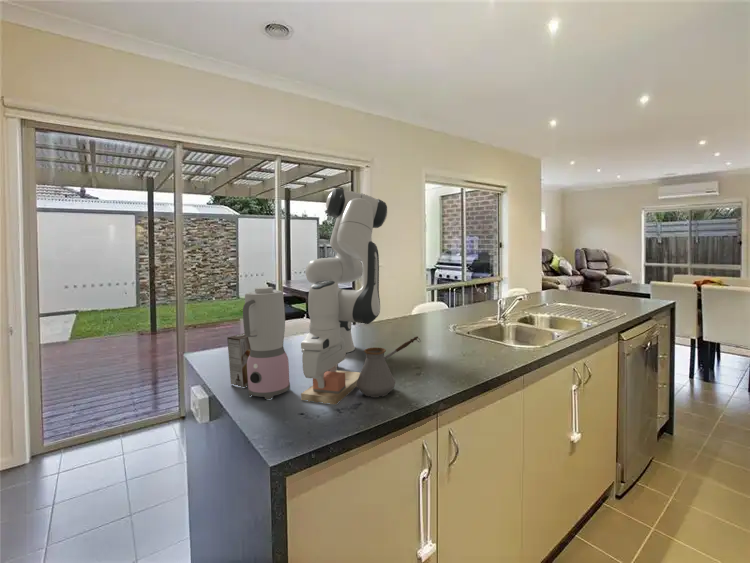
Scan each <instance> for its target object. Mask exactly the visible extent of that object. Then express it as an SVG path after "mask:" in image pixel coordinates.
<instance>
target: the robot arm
mask: <svg viewBox="0 0 750 563" xmlns="http://www.w3.org/2000/svg"><path fill="white" fill-rule="evenodd" d="M325 203H326V204H325V205H326V212H327V214H328V215H329V216H331V217H332V218H335V223H334V224H333V228H332V232H331V236H330V240H329V243H330V247H331V248H332V250H333V251H334V252H336V254H335V256H334V257H322V258H321V257H320V258H317V259H313V260H310V261H309V262H308V263H307V265H306V268H305V276H306V279H307V280H308V282H309V283H310V286H309V289H308V298H307V299H308V300H307V304H308V306H307V307H308V315H309V321H310V322H309V326H308V327H309V328H308V330H309V332H308V333H307V335H306V336H305V337H304V339H303V340H302V341H301V342H300V349H301V352H302V355H301V356H302V357H301V359H302V360H301V361H302V372H303V373H302V374H303V376H304V377H305V378H306V379H312V380H313V379H316V380H317V382H318V388H324V387H325V386H326V381H324V378H323V377H324V373H325V372H327V371H330V372H336V371H337V370H338V366H337V364H338V365H339V364H340V363H341V362H343V361H344V360H345V359H346V353H350V352H353V351H354V350H356V347H355V345H354V340H353V335H352V323H357V324H359V323H360V324H363V325H365V324H366V325H370V324H371V323H372V322H374V321H375V320H376V319H377V318H378V317H379V315H380V313H381V300H380V299H381V298H380V290H379V288H380V257H379V256H380V255H379V250H378V246H377V244H376V243H374V242H373V241H372V240H373V238H372V234H373V229H377V228H380V227H382V226H383V225H384V223H385V221H386V219H387V218H388V217H387V216H388V206H387V203H386V202H385V201H383V200H381V199H380V198H378V199H377V198H375V197H372V196H370V195H368V194H365V193H361V192H356V191H352V190H346V189H344V188H338V187H337V188H334V189H332V190H331V191H330V193H329V195H328V196H327V198H326V202H325ZM360 278H362V286H361V287H360V288H359V289H342V288H339V284H347V283H348V284H349V283H353V282H354V281H358V280H359V279H360Z"/></svg>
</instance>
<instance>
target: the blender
mask: <svg viewBox="0 0 750 563" xmlns="http://www.w3.org/2000/svg"><path fill="white" fill-rule="evenodd" d="M285 311H286V310H285V302H284V292H283V291H281V290H278V289H277V290H274V288H273V286H260V287H259V286H258V287H255V288H254V291H250V292H249V291H248V292H246V293H245V294H244V305H243V307H242V320H243V331H244V333H245V335H246V336H247V337H248V339H249V343H250V348H251V351H250V355H249V357H248V360H247V376H248V387H247V390H248V397H249V396H251V395H252V397H253V396H254V397H264V400H265V399H271V398H273V399H274V396H278V395H280V394H284V393H286V392H288V391H289V390H290V389H291V383H290V365H289V357H288V355H287V353H286V351H285V348H284V339H285V332H286V330H285V329H286V312H285Z"/></svg>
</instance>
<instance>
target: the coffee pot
mask: <svg viewBox="0 0 750 563" xmlns="http://www.w3.org/2000/svg"><path fill="white" fill-rule="evenodd" d="M415 341H416V342H418V343H421V342H422V341H421V339H420V338H419V336H414V337H413V338H410V339H409V340H408V341H406V342H404V343H402V344H401V345H400V346H398V347H397V348H395V349H394V350H393V351H391V352H389V353H388V354H386V355H385V352H386V351H387V349H386V348H384V347H369V348H366V349H364V350H363V352H364V353H365V360H364V362H363V365H362V368H361V370H360V372H361V373H360V375H359V378H358V381H357V387H356V388H357V389H358V390H359V391H360V392H361V393H362V394H363V395H364V396H366V395H367V396H366V397H369V396H371V397H370V398H380V397H379V396H382V397H385V396H388V395H389V394H388V393H390V392H391V391H392V390H394V388H395V385H396V380H395V379H394V376H393V374H392V372H391V369H390V368H389V365H388V362H387V361H386V360H387V359H389V358H390V357H391V356H393V355H395V354H396V353H398V352H400V351H401V350H403V349H406V348H407V347H408V346H410V344H411V343H414V342H415ZM384 395H385V396H384Z"/></svg>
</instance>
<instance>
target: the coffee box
mask: <svg viewBox="0 0 750 563" xmlns="http://www.w3.org/2000/svg"><path fill="white" fill-rule="evenodd" d="M227 351H228V352H227V353H228V363H229V365H228V366H229V376H230V385H231V384H234V385H238V386H241V387H246V386H248V376H247V360H248V357H249V355H250V351H251V348H250V343H249V339H248V337H247V336H246V335H245V333H243V332H242V333H240V334H239V333H238V334H236V335H231V336H228V337H227Z"/></svg>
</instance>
